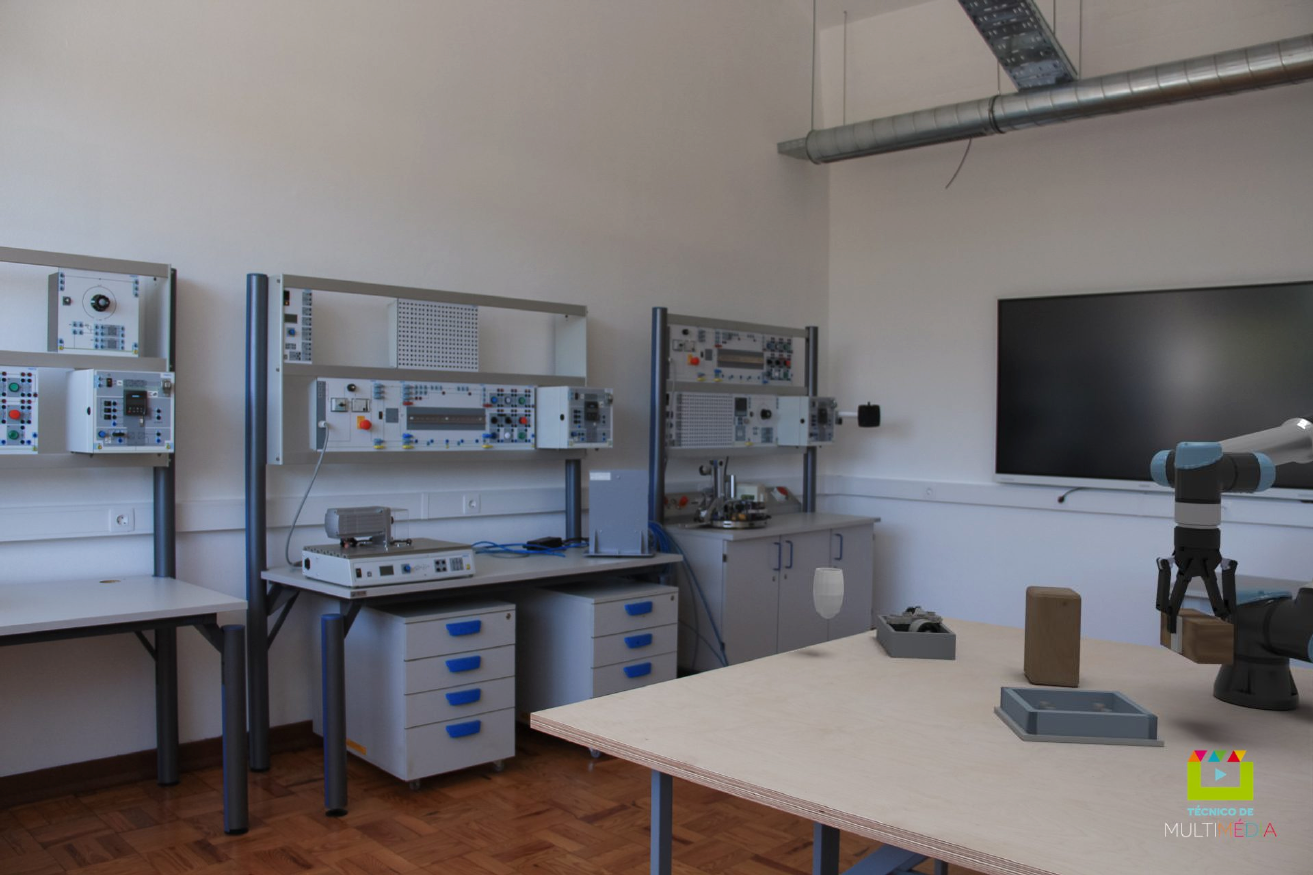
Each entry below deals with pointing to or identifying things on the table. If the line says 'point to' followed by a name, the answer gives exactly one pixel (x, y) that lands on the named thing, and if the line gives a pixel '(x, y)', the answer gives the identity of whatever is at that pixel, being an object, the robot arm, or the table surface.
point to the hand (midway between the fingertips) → (1195, 651)
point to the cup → (828, 591)
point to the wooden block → (1052, 636)
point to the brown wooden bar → (1202, 637)
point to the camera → (915, 621)
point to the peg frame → (1077, 716)
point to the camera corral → (916, 642)
